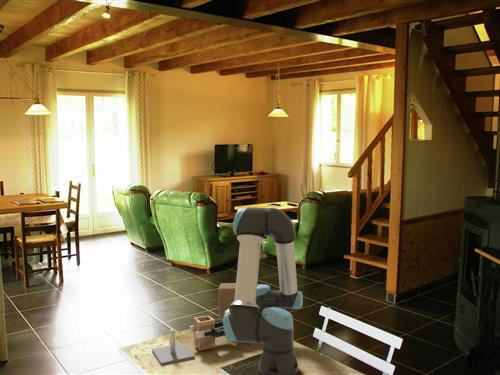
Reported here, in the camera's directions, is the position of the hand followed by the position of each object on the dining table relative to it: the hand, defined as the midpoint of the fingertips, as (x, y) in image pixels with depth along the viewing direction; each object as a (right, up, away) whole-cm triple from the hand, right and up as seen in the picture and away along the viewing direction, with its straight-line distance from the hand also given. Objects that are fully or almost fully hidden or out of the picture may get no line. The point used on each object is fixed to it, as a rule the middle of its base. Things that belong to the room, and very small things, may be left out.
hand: (193, 332), depth 204 cm
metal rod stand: (-8, -8, -3) cm, 12 cm away
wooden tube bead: (+5, -7, +3) cm, 9 cm away
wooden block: (+15, -6, +28) cm, 32 cm away
